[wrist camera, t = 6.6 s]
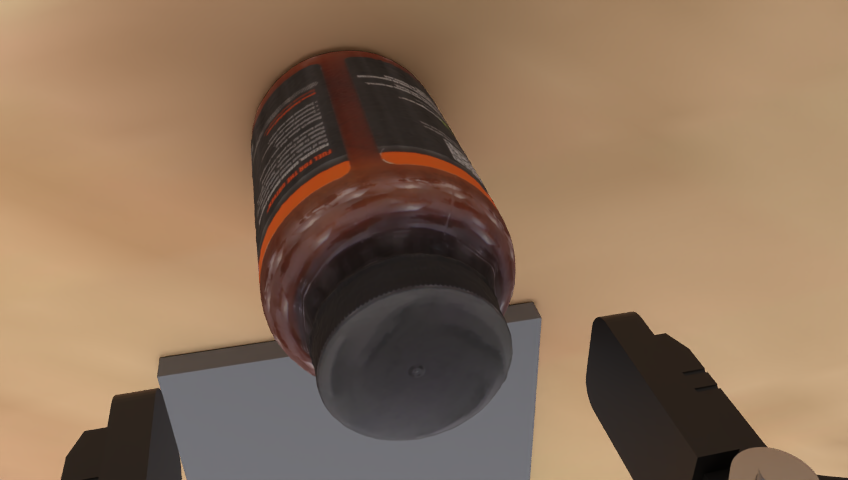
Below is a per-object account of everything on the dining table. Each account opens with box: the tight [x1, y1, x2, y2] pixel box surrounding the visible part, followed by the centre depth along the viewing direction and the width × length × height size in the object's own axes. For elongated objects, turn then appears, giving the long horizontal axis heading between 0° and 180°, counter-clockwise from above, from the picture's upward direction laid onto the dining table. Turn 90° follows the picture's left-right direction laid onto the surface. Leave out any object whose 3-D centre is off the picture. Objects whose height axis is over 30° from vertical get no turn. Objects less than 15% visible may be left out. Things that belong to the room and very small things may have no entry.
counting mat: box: [157, 302, 541, 480], centre depth 31 cm, size 14×12×1 cm
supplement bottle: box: [251, 51, 515, 441], centre depth 19 cm, size 6×6×11 cm
